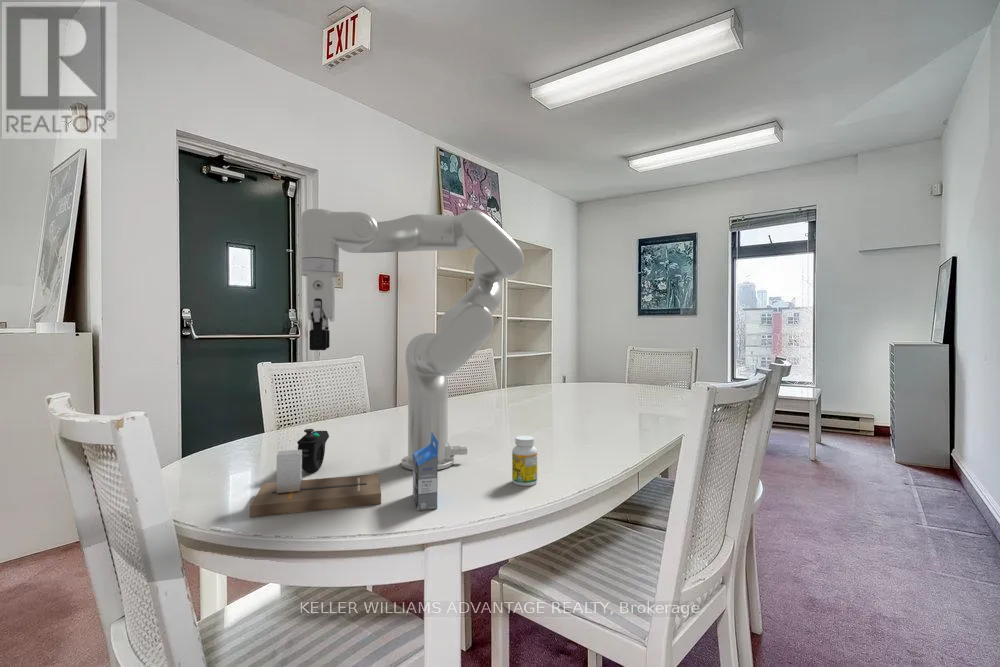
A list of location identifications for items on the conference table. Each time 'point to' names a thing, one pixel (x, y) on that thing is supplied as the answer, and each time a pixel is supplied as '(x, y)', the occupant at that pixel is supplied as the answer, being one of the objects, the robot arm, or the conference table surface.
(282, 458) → the fader tab
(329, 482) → the fader console
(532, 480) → the supplement bottle
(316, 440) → the controller
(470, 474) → the conference table surface
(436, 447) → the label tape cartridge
